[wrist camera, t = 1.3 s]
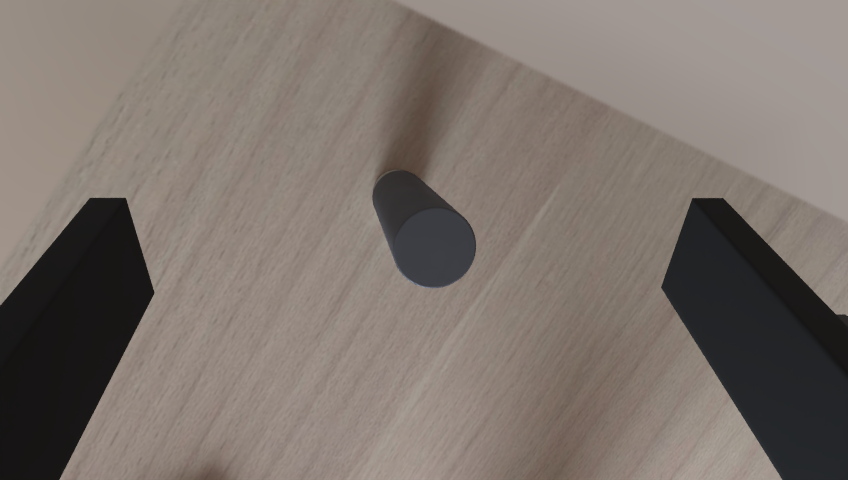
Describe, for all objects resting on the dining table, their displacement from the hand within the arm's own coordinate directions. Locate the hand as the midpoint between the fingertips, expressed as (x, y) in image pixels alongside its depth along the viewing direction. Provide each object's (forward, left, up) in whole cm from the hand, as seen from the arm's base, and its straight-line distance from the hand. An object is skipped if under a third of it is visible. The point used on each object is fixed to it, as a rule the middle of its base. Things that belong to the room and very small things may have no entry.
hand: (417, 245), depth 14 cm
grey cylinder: (+2, +1, -17) cm, 17 cm away
